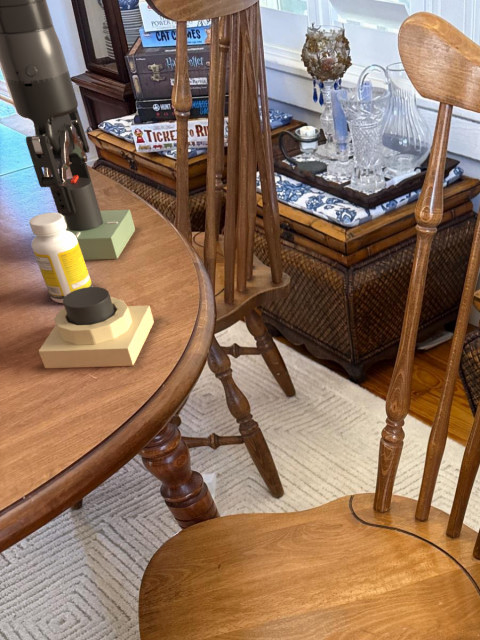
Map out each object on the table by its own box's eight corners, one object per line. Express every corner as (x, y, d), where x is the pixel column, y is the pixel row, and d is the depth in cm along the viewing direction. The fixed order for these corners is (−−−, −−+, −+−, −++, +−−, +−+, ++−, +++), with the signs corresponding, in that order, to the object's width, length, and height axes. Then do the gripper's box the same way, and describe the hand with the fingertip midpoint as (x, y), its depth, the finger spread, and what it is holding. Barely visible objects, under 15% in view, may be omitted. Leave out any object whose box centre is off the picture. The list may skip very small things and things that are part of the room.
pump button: (63, 327, 87) (56, 308, 85) (77, 306, 90) (70, 287, 89) (108, 326, 87) (101, 306, 85) (119, 305, 90) (114, 285, 89)
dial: (99, 229, 108) (86, 186, 104) (64, 232, 108) (50, 188, 104) (105, 216, 112) (93, 173, 108) (72, 218, 111) (58, 176, 107)
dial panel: (46, 261, 108) (38, 239, 106) (68, 232, 116) (61, 210, 114) (117, 258, 108) (110, 236, 106) (135, 229, 115) (129, 208, 113)
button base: (45, 368, 87) (32, 336, 85) (72, 324, 95) (61, 293, 92) (133, 365, 87) (123, 333, 84) (154, 322, 94) (145, 291, 92)
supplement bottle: (96, 283, 103) (72, 208, 96) (91, 302, 99) (66, 225, 92) (54, 287, 102) (27, 212, 96) (47, 306, 98) (18, 229, 92)
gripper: (25, 57, 102) (65, 185, 113) (-16, 86, 92) (33, 224, 103) (82, 55, 102) (116, 183, 113) (47, 84, 92) (89, 222, 103)
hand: (77, 202), depth 108 cm, fingers open, 8 cm apart
